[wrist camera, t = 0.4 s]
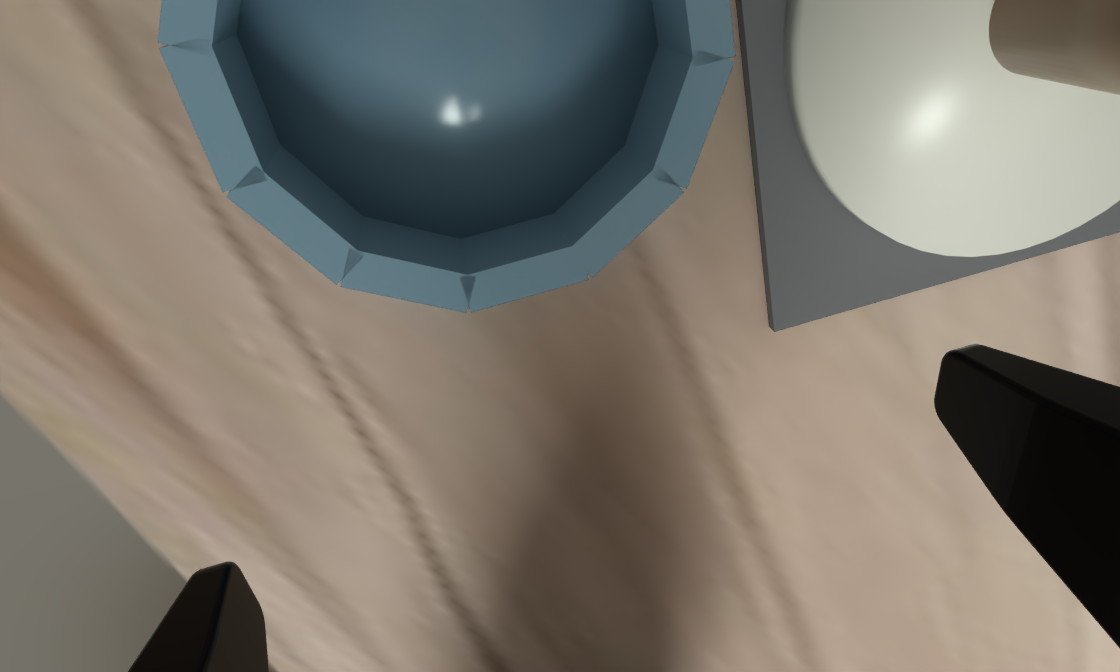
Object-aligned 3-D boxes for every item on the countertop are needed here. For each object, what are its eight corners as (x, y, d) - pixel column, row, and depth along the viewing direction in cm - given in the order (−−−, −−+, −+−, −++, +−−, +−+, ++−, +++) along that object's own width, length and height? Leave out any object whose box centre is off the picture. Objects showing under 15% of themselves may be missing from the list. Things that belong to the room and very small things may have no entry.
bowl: (707, 195, 23) (753, 233, 20) (312, 304, 22) (297, 361, 19) (640, -307, 17) (691, -363, 14) (109, -183, 17) (43, -213, 14)
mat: (1211, 198, 26) (1222, 202, 26) (769, 326, 26) (774, 331, 25) (1329, -417, 19) (1348, -424, 19) (708, -268, 18) (715, -273, 18)
